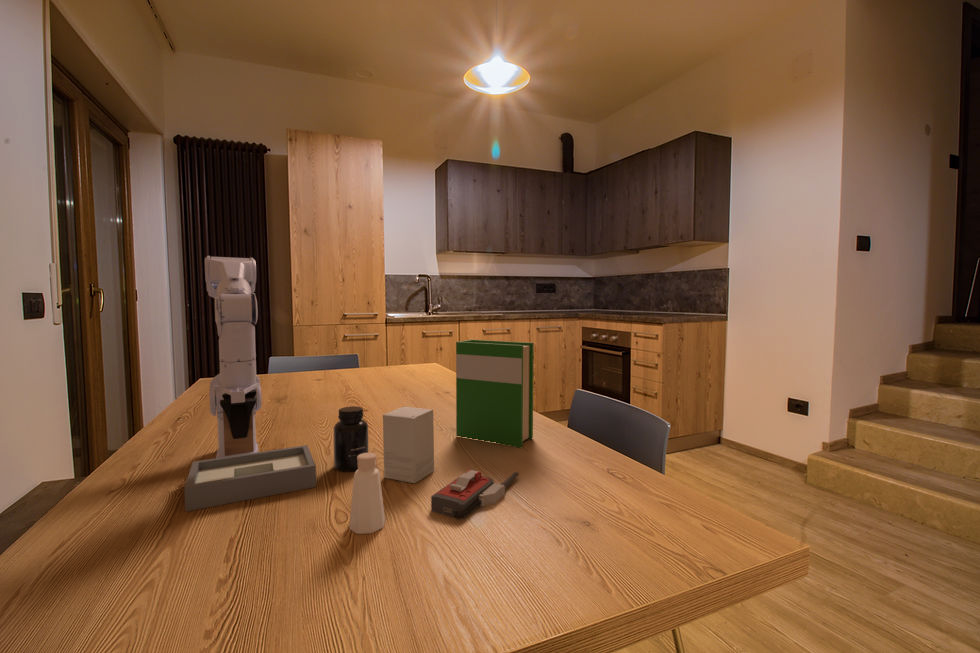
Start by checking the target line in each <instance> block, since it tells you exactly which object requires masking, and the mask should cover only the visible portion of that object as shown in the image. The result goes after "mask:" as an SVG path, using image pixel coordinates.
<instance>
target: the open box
mask: <svg viewBox="0 0 980 653" xmlns="http://www.w3.org/2000/svg"><path fill="white" fill-rule="evenodd" d="M316 466H317V465H316V462H315V460H314V458H313V455H312V453H311V450H310V448H309V446H308V444H306V445H304V444H303V445H299V446H290V447H284V448H278V449H272V450H264V451H258V452H256V453H249V454H242V455H236V456H229V457H222V458H216V457H215V458H210V459H202V460H196V461H192V464H191V467H190V469H189V473H188V476H187V479H186V482H185V484H184V508H185V509H184V510H185V512H191V511H196V510H202V509H206V508H211V507H217V506H222V505H223V506H224V505H227V504H228V505H229V504H233V503H237V502H238V503H239V502H243V501H249V500H253V499H259V498H264V497H265V498H266V497H269V496H270V497H271V496H275V495H281V494H285V493H290V492H296V491H301V490H302V491H303V490H307V489H311V488H313V489H314V488H316V487H317V467H316Z"/></svg>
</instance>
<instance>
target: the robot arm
mask: <svg viewBox="0 0 980 653" xmlns="http://www.w3.org/2000/svg"><path fill="white" fill-rule="evenodd" d="M256 263H257V262H256V260H255V259H254V257H249V258H248V257H229V256H227V257H225V256H211V255H206V257H205V258H204V275H205V278H204V279H205V283H206V291H207V293H208V296H209V297H211V298H213V299H214V315H215V316H214V317H215V318H214V319H215V323H216V328H217V336H218V338H219V339H218V354H219V356H218V358H219V373H218V374H217V375H215V376H214V377H213V378H211V381H210V382H209V413H210V415H212V416H214V417H215V416H216V419H217V420H216V421H217V443H218V445H217V446H218V447H217V452H216V457H215V458H222V457H229V456H236V455H242V454H236V455H229V456H225V449H224V421H223V410H224V412H225V414H226V416H227V418H228V421H229V425H230V429H231V433H232V436H233V439H239V438H246V437H247V434H248V430H249V423H250V417H251V413H252V410H253V441H254V452H250V453H256V452H259V446H258V442H257V438H256V435H257V434H256V413H257V411H260V410H261V408H262V404H263V402H262V387H261V383H260V377H259V376H258V375H257V360H256V357H257V354H256V327H255V325H257V322H258V318H259V316H258V315H259V313H258V312H259V310H258V300H257V296H256V293H254V292H256V283H257V264H256ZM246 398H252V399H246ZM243 454H249V453H243Z"/></svg>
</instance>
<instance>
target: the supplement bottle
mask: <svg viewBox="0 0 980 653" xmlns="http://www.w3.org/2000/svg"><path fill="white" fill-rule="evenodd" d="M337 417H338V420H339V421H337V422H336V423H335V424H334V427H333V457H334V458H333V460H334V461H333V462H334V463H333V464H334V466H333V467H334V468H335V470H338V471H341V472H356V470H358V461H357V456H358V455H360V454H363V453H369V424H368V422H367V421H366V420H365V419H363V418H364V408H363V407H361V406H355V405H354V406H345V407H341V408H339V409H338V416H337Z"/></svg>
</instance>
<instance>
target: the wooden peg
mask: <svg viewBox="0 0 980 653" xmlns="http://www.w3.org/2000/svg"><path fill="white" fill-rule="evenodd" d="M246 399H252V398H246ZM223 421H224V449H225V456H229V455H236V454H243V453H250V452H254V441H253V410H252V413H251V417H250V423H249V430H248V434H247V437H246V438H239V439H233V436H232V433H231V429H230V425H229V421H228V418H227V416H226V414H225V412H224V410H223Z"/></svg>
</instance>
